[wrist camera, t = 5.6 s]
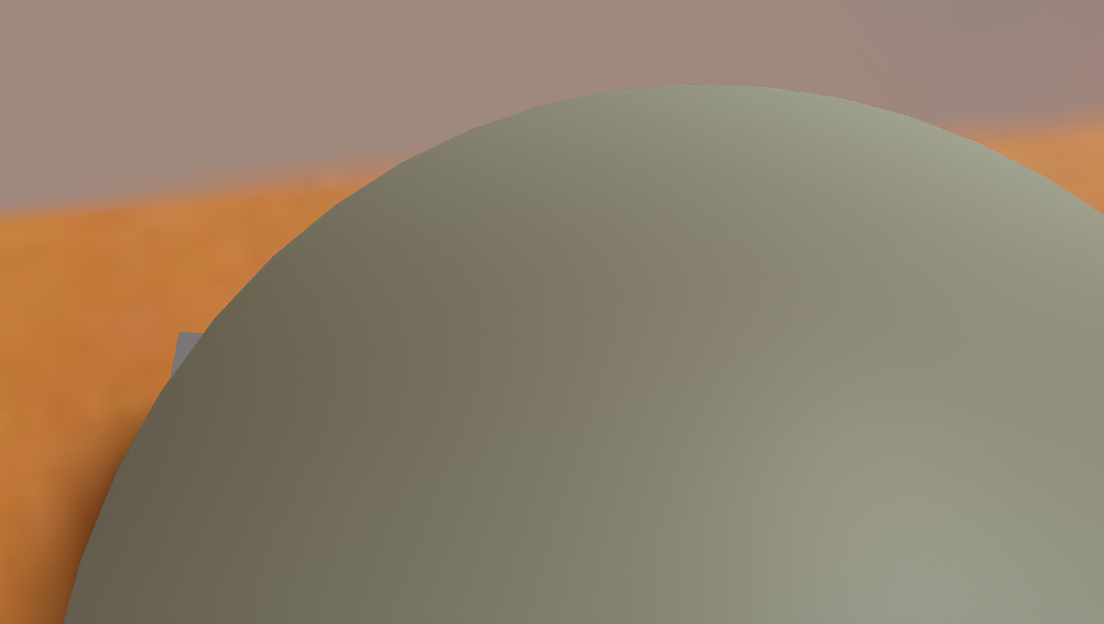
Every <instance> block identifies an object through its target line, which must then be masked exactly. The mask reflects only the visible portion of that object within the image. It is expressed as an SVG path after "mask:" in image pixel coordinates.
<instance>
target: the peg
mask: <svg viewBox="0 0 1104 624" xmlns="http://www.w3.org/2000/svg"><path fill="white" fill-rule="evenodd" d="M63 624H1104V215H1103V214H1101V213H1100V212H1098V211H1097V210H1095V209H1094V208H1092V207H1091V206H1089V205H1088V204H1086V203H1085V202H1083V201H1082V200H1080V199H1078V198H1077V197H1075V196H1074V195H1072V194H1071V193H1069V192H1068V191H1066V190H1065V189H1063V188H1062V187H1060V186H1059V185H1057V184H1056V183H1054V182H1053V181H1051V180H1050V179H1048V178H1046V177H1044V176H1042V175H1040V174H1038V173H1036V172H1034V171H1032V170H1030V169H1028V168H1026V167H1024V166H1023V165H1021V164H1019V163H1017V162H1015V161H1013V160H1011V159H1009V158H1007V157H1005V156H1003V155H1001V154H999V153H997V152H995V151H993V150H991V149H990V148H988V147H986V146H984V145H982V144H980V143H977V142H974V141H972V140H969V139H967V138H964V137H962V136H959V135H956V134H954V133H951V132H949V131H946V130H943V129H941V128H938V127H936V126H933V125H931V124H928V123H925V122H923V121H920V120H918V119H915V118H912V117H910V116H906V115H902V114H899V113H894V112H891V111H887V110H883V109H879V108H876V107H872V106H868V105H865V104H861V103H857V102H853V101H849V100H846V99H842V98H838V97H832V96H825V95H818V94H811V93H805V92H798V91H791V90H785V89H778V88H772V87H765V86H736V85H708V84H684V85H672V86H661V87H648V88H636V89H624V90H615V91H610V92H605V93H601V94H595V95H591V96H586V97H581V98H576V99H571V100H566V101H561V102H556V103H552V104H547V105H543V106H540V107H537V108H534V109H531V110H528V111H525V112H522V113H519V114H516V115H513V116H510V117H507V118H504V119H501V120H498V121H495V122H492V123H489V124H486V125H483V126H480V127H477V128H474V129H471V130H469V131H467V132H465V133H463V134H461V135H459V136H457V137H454V138H452V139H450V140H448V141H446V142H444V143H442V144H440V145H438V146H436V147H434V148H431V149H429V150H427V151H425V152H423V153H421V154H419V155H417V156H415V157H413V158H410V159H408V160H406V161H404V162H402V163H401V164H399V165H397V166H396V167H394V168H393V169H391V170H390V171H388V172H387V173H385V174H383V175H382V176H380V177H379V178H377V179H376V180H374V181H372V182H371V183H369V184H368V185H366V186H365V187H363V188H361V189H360V190H358V191H357V192H355V193H354V194H352V195H350V196H349V197H347V198H346V199H344V200H343V201H341V202H339V203H338V204H336V205H335V206H334V207H333V208H331V209H330V210H329V211H328V212H327V213H325V214H324V215H323V216H322V217H320V218H319V219H318V220H317V221H316V222H314V223H313V224H312V225H311V226H310V227H308V228H307V229H306V230H305V231H304V232H302V233H301V234H300V235H299V236H298V237H296V238H295V239H294V240H293V241H291V242H290V243H289V244H288V245H287V246H285V247H284V248H283V249H282V250H281V251H279V252H278V253H277V254H276V255H275V256H273V257H272V258H271V259H270V260H269V261H268V263H267V264H266V265H265V266H264V267H263V268H262V269H261V270H260V271H259V272H258V273H257V274H256V275H255V276H254V277H253V278H252V280H251V281H250V282H249V283H248V284H247V285H246V286H245V287H244V288H243V289H242V290H241V291H240V292H239V293H238V294H237V295H236V296H235V298H234V299H233V300H232V301H231V302H230V303H229V304H228V305H227V306H226V307H225V308H224V309H223V310H222V311H221V312H220V313H219V315H218V316H217V317H216V318H215V319H214V320H213V321H212V323H211V324H210V326H209V327H208V328H207V330H206V331H205V332H204V334H203V335H202V336H201V338H200V339H199V341H198V342H197V343H196V345H195V346H194V347H193V349H192V350H191V351H190V353H189V354H188V356H187V357H186V358H185V360H184V361H183V362H182V364H181V365H180V366H179V368H178V369H177V371H176V372H175V373H174V375H173V376H172V377H171V379H170V380H169V381H168V383H167V384H166V386H165V387H164V388H163V390H162V391H161V393H160V395H159V396H158V398H157V400H156V402H155V404H154V405H153V407H152V409H151V411H150V413H149V414H148V416H147V418H146V420H145V422H144V423H143V425H142V427H141V429H140V431H139V432H138V434H137V436H136V438H135V439H134V441H133V443H132V445H131V447H130V448H129V450H128V452H127V454H126V456H125V457H124V459H123V461H122V463H121V465H120V466H119V468H118V470H117V472H116V474H115V477H114V479H113V482H112V484H111V487H110V489H109V491H108V494H107V496H106V499H105V501H104V504H103V506H102V509H101V511H100V514H99V516H98V518H97V521H96V523H95V526H94V528H93V531H92V533H91V536H90V538H89V541H88V543H87V546H86V548H85V550H84V553H83V555H82V558H81V560H80V563H79V567H78V571H77V574H76V578H75V582H74V586H73V589H72V593H71V597H70V600H69V604H68V608H67V612H66V615H65V619H64V623H63Z"/></svg>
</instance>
